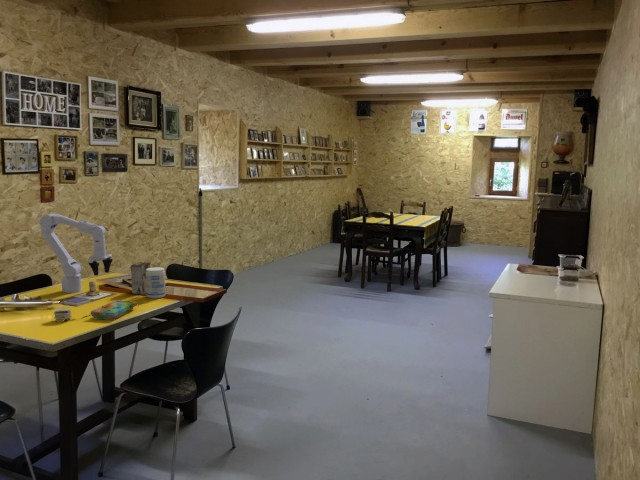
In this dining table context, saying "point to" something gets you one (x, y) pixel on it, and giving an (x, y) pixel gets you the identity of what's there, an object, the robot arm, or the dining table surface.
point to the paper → (92, 296)
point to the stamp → (92, 289)
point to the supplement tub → (155, 282)
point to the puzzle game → (113, 310)
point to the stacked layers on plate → (62, 313)
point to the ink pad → (77, 301)
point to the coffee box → (139, 277)
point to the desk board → (84, 298)
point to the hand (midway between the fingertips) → (101, 273)
